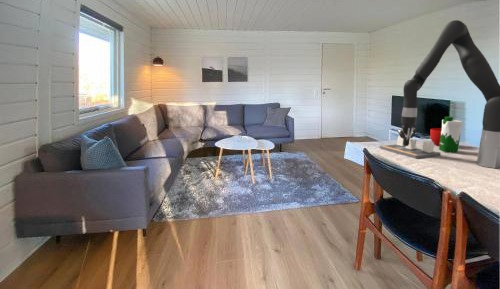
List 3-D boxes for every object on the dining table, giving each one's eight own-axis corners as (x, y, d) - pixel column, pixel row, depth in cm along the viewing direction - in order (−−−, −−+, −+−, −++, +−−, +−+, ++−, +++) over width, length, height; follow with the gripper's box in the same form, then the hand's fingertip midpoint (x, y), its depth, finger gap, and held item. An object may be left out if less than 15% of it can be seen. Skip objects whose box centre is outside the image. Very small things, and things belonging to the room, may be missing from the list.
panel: (440, 155, 161) (440, 152, 161) (415, 158, 155) (416, 155, 155) (402, 145, 185) (402, 143, 185) (379, 148, 179) (379, 145, 179)
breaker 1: (406, 145, 178) (407, 136, 177) (402, 146, 177) (403, 137, 176) (400, 144, 182) (401, 135, 181) (396, 144, 181) (397, 135, 180)
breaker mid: (416, 149, 169) (417, 139, 168) (411, 149, 168) (412, 140, 166) (409, 147, 173) (410, 138, 172) (405, 148, 172) (406, 138, 170)
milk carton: (436, 149, 176) (441, 116, 172) (453, 149, 174) (458, 116, 170) (442, 152, 168) (447, 117, 164) (460, 153, 166) (465, 118, 162)
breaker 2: (433, 152, 161) (434, 142, 160) (428, 152, 160) (429, 142, 159) (426, 150, 165) (427, 140, 164) (421, 151, 164) (422, 141, 163)
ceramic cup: (464, 147, 179) (466, 131, 177) (434, 147, 181) (436, 131, 179) (452, 143, 191) (454, 128, 189) (425, 142, 193) (426, 128, 191)
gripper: (405, 117, 159) (402, 147, 163) (423, 115, 163) (420, 146, 167) (394, 115, 166) (391, 145, 170) (412, 114, 170) (409, 143, 174)
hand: (405, 145), depth 168 cm, fingers closed
